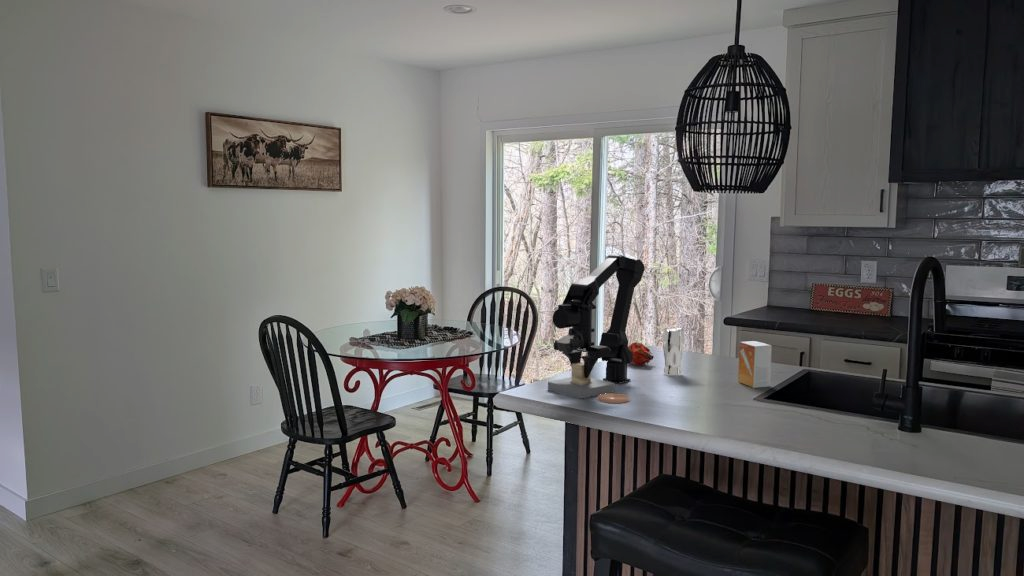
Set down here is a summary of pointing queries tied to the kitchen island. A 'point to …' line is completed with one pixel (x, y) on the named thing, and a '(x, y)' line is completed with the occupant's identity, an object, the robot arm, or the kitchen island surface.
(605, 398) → the coaster
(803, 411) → the kitchen island surface
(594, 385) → the pocket board
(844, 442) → the kitchen island surface
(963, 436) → the kitchen island surface
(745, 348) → the small box
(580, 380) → the beech block
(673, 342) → the beer glass
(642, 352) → the dragon fruit
